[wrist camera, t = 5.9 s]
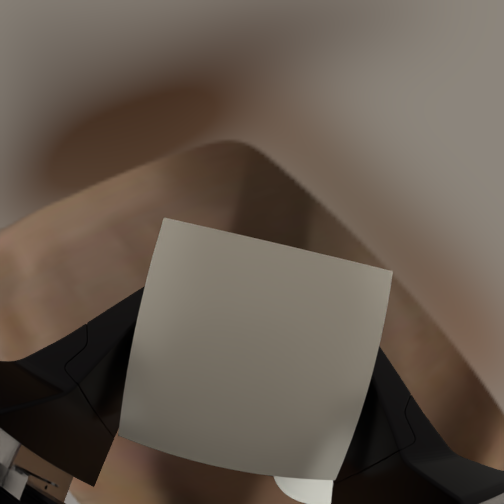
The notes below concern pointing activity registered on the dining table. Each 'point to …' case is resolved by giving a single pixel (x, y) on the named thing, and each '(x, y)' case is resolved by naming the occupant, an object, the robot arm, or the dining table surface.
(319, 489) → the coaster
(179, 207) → the dining table surface
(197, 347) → the cover
